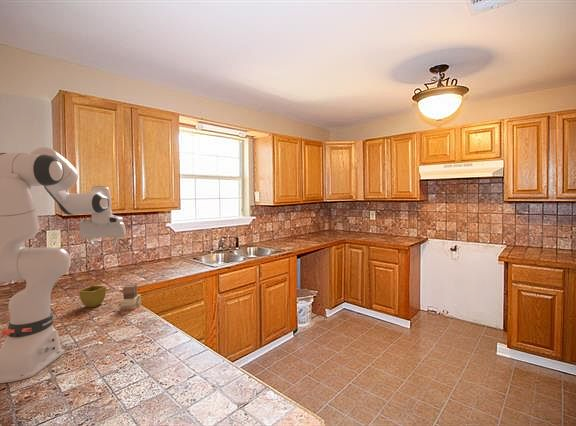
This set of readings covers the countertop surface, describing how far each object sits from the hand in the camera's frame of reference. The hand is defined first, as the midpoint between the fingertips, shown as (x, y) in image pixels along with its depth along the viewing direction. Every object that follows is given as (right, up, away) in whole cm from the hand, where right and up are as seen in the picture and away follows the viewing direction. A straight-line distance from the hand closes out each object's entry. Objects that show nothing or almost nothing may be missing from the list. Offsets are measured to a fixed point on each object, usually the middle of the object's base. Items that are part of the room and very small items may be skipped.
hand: (104, 246), depth 153 cm
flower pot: (-8, -31, +5) cm, 33 cm away
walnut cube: (+12, -26, +2) cm, 29 cm away
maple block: (+12, -31, +3) cm, 33 cm away
